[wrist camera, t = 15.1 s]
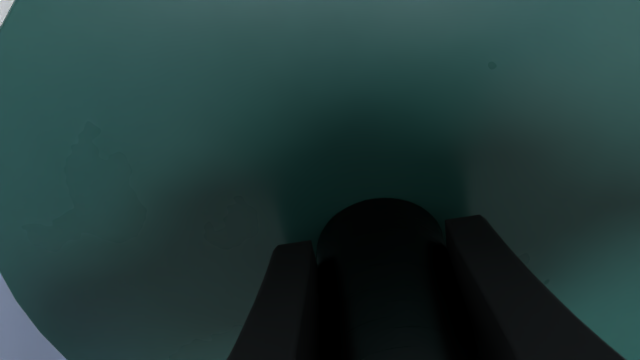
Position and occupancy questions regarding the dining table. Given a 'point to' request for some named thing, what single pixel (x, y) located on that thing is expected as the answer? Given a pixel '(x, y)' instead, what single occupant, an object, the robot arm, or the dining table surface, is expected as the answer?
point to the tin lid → (313, 165)
